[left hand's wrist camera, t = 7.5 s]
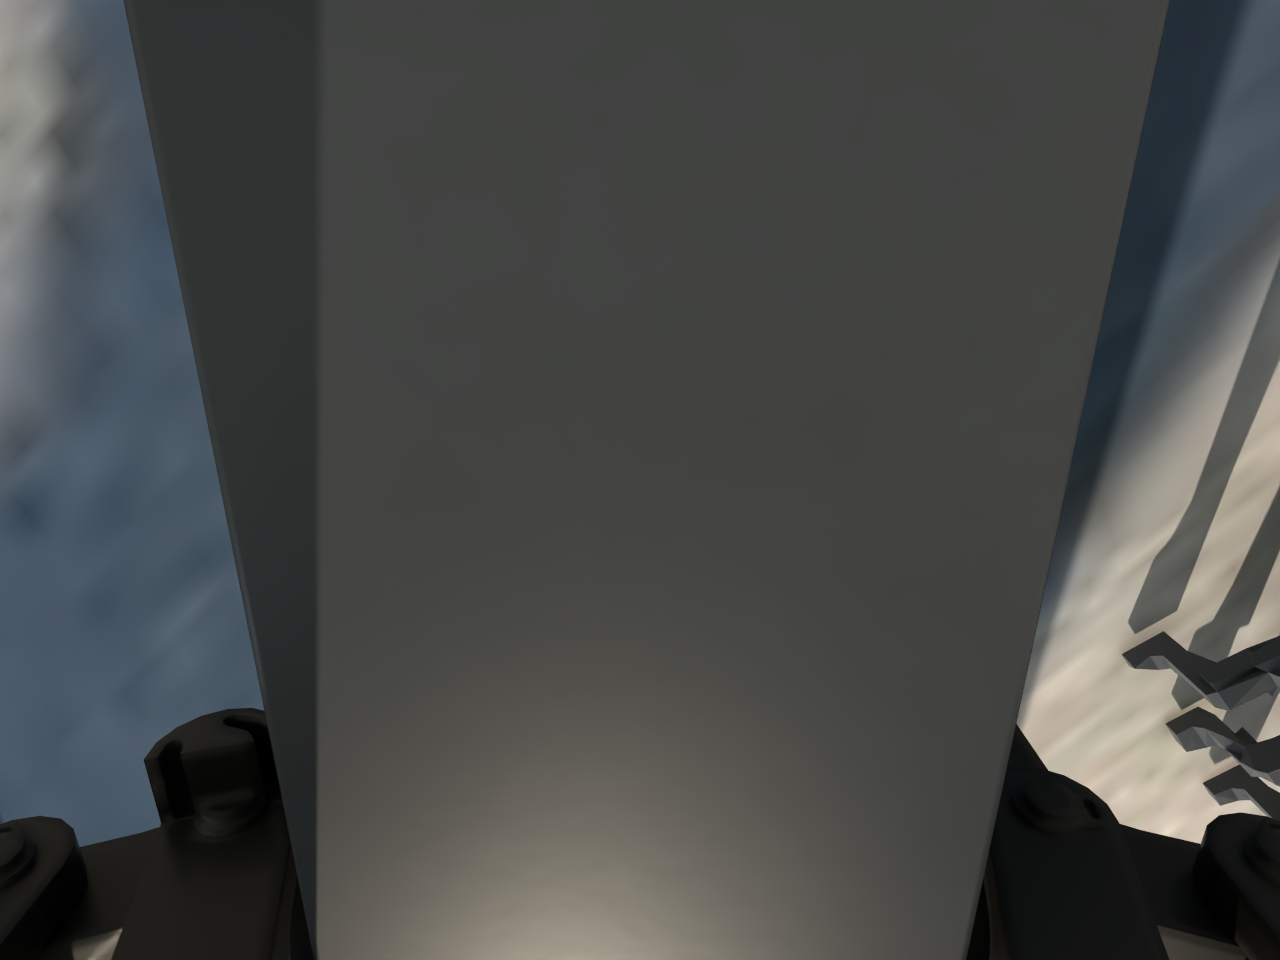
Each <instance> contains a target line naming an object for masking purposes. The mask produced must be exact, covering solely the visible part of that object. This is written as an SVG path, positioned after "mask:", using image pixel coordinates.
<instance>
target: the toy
mask: <svg viewBox="0 0 1280 960" xmlns="http://www.w3.org/2000/svg"><path fill="white" fill-rule="evenodd" d="M1122 655H1123V657H1124V658H1125V660H1126V662H1127V663H1128V665H1129V666H1130V667H1132V668H1135V669H1155V670H1160V669H1168V668H1171V669H1172V670H1173V671H1174V672H1176V673H1177V674H1178V675H1179V676H1180V677H1181V678H1182V679H1184V680H1185V681H1186V682H1187V683H1188V684H1189V685H1191V686H1192V687H1193V688H1194V689H1195V690H1196V691H1197V692H1199V693H1200V694H1201V695H1202V696H1203V697H1204V698H1205V699H1207V700H1208V701H1209V702H1210V703H1211V704H1212V705H1213V706H1215V707H1216V708H1220V709H1225V710H1228V709H1229V710H1230V709H1233V708H1235V707H1237V706H1239V705H1241V704H1243V703H1245V702H1247V701H1249V700H1251V699H1254V698H1256V697H1258V696H1260V695H1262V694H1264V693H1266V692H1268V693H1269V694H1271V695H1272V696H1274V695H1276V694H1278V693H1279V692H1280V636H1278V637H1276V638H1273V639H1270V640H1268V641H1265V642H1262V643H1260V644H1257V645H1254V646H1252V647H1249V648H1246V649H1244V650H1242V651H1240V652H1238V653H1236V654H1234V655H1232V656H1230V657H1228V658H1226V659H1224V660H1222V661H1220V662H1218V663H1216V662H1213V661H1211V660H1208V659H1206V658H1203V657H1201V656H1198V655H1196V654H1193V653H1191V652H1188V651H1186V650H1185V649H1184V648H1183V647H1182V646H1180V645H1179V644H1178V643H1177V642H1176V641H1174V640H1173V639H1172V638H1171V637H1170V636H1169V635H1167V634H1166V633H1165V632H1164V631H1163V632H1161V633H1160V634H1158V635H1156V636H1154V637H1152V638H1151V639H1149V640H1147V641H1145V642H1143V643H1141V644H1140V645H1138V646H1136V647H1134V648H1132V649H1131V650H1129V651H1127V652H1125V653H1123V654H1122ZM1166 725H1167V727H1168V729H1169V730H1170V732H1171V733H1172V735H1173V736H1174V738H1175V740H1176V741H1177V742H1178V743H1179V744H1180V745H1181V746H1182V747H1183V748H1184V749H1185V750H1186V752H1188V751H1193V750H1197V749H1202V748H1206V747H1210V746H1215V745H1218V746H1220V747H1222V748H1224V749H1226V750H1227V751H1228V752H1229V753H1230V754H1231V755H1232V756H1233V758H1234V759H1235V760H1236V761H1237V762H1238V763H1239V764H1240V765H1238V766H1236V767H1234V768H1232V769H1230V770H1228V771H1226V772H1224V773H1222V774H1220V775H1218V776H1216V777H1214V778H1212V779H1210V780H1208V781H1206V782H1204V783H1203V784H1204V786H1205V787H1206V789H1207V791H1208V792H1209V794H1210V795H1211V796H1212V797H1213V798H1214V799H1215V800H1216V801H1217V802H1218V804H1219V805H1220V806H1221V805H1224V804H1228V803H1231V802H1235V801H1238V800H1251V801H1252V802H1253V803H1254V804H1255V805H1256V806H1257V807H1258V808H1259V809H1260V810H1261V811H1262V812H1263V813H1264V814H1266V815H1267V816H1268V817H1270V818H1273V819H1276V820H1279V821H1280V793H1279V792H1277V791H1275V790H1274V789H1272V788H1270V787H1268V786H1267V785H1266V784H1265V783H1264V782H1263V781H1262V780H1260V779H1259V778H1258V777H1262V778H1264V779H1266V780H1268V781H1270V782H1272V783H1274V784H1276V785H1278V786H1280V735H1279V736H1277V737H1274V738H1272V739H1268V740H1265V741H1262V742H1258V743H1257V742H1256V741H1255V740H1254V739H1253V737H1252V736H1251V735H1250V734H1249V733H1248V732H1247V731H1246V730H1245V729H1244V728H1243V727H1242V728H1241V729H1240V730H1239V731H1238V732H1237V733H1236V734H1235V733H1234V732H1233V731H1232V730H1231V729H1230V728H1229V727H1227V726H1226V725H1225V724H1224V723H1223V722H1222V721H1221V720H1220V719H1219V718H1218V717H1217V716H1216V715H1214V714H1212V713H1210V712H1208V711H1206V710H1204V709H1201V708H1199V707H1197V708H1195V709H1193V710H1191V711H1189V712H1187V713H1185V714H1183V715H1181V716H1179V717H1177V718H1176V719H1174V720H1172V721H1170V722H1168V723H1166Z"/></svg>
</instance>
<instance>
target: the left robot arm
mask: <svg viewBox="0 0 1280 960" xmlns="http://www.w3.org/2000/svg"><path fill="white" fill-rule="evenodd" d="M144 763H145V766H146V770H147V774H148V777H149V781H150V784H151V788H152V792H153V795H154V799H155V802H156V806H157V809H158V813H159V817H160V820H161V826H160V827H159V828H155V829H152V830H149V831H146V832H142V833H139V834H135V835H130V836H126V837H122V838H117V839H113V840H109V841H105V842H100V843H96V844H92V845H87V846H83V847H79V844H78V841H77V838H76V835H75V832H74V829H73V828H72V827H71V826H69V825H68V824H67V823H66V822H64V821H63V820H62V819H59V818H51V817H44V816H36V817H29V818H23V819H16V820H11V821H8V822H6V823H3V824H0V960H314V957H313V952H312V947H311V942H310V937H309V931H308V926H307V921H306V916H305V911H304V906H303V901H302V896H301V891H300V886H299V881H298V876H297V871H296V866H295V861H294V856H293V851H292V846H291V841H290V836H289V831H288V826H287V821H286V816H285V811H284V806H283V801H282V796H281V790H280V785H279V780H278V775H277V770H276V765H275V760H274V755H273V750H272V745H271V740H270V735H269V730H268V725H267V720H266V715H265V711H262V710H258V709H254V708H241V709H227V710H223V711H219V712H215V713H211V714H207V715H203V716H200V717H198V718H196V719H194V720H192V721H190V722H187V723H185V724H183V725H181V726H179V727H177V728H175V729H174V730H173V731H171V732H170V733H169V734H167V735H166V736H165V737H163V738H162V739H161V740H159V741H158V742H157V743H156V744H155V745H154V746H153V748H152V749H151V751H150V752H149V753H148V755H147V756H146V757H145V759H144ZM966 960H1280V821H1279V820H1276V819H1273V818H1270V817H1267V816H1260V815H1253V814H1247V813H1234V814H1226V815H1219V816H1218V817H1217V818H1216V819H1214V820H1213V821H1212V822H1211V823H1209V824H1208V825H1207V827H1206V830H1205V833H1204V836H1203V839H1202V842H1201V844H1198V843H1194V842H1189V841H1185V840H1181V839H1176V838H1172V837H1168V836H1164V835H1159V834H1155V833H1151V832H1146V831H1142V830H1138V829H1135V828H1132V827H1128V826H1125V825H1122V824H1119V822H1118V820H1117V819H1116V817H1115V816H1114V814H1113V813H1112V811H1111V809H1110V808H1109V806H1108V805H1107V804H1106V803H1105V802H1104V801H1103V800H1102V799H1100V798H1099V797H1098V796H1097V795H1096V794H1094V793H1093V792H1092V791H1091V790H1090V789H1089V788H1087V787H1085V786H1083V785H1081V784H1079V783H1077V782H1076V781H1074V780H1072V779H1070V778H1068V777H1066V776H1064V775H1061V774H1057V773H1054V772H1050V771H1048V769H1047V768H1046V767H1045V765H1044V764H1043V762H1042V761H1041V759H1040V758H1039V756H1038V755H1037V753H1036V752H1035V751H1034V749H1033V748H1032V746H1031V745H1030V743H1029V742H1028V740H1027V739H1026V737H1025V736H1024V734H1023V733H1022V732H1021V730H1020V729H1019V727H1018V726H1017V724H1016V727H1015V731H1014V736H1013V741H1012V745H1011V750H1010V755H1009V759H1008V764H1007V769H1006V774H1005V778H1004V783H1003V788H1002V792H1001V797H1000V802H999V807H998V811H997V816H996V821H995V825H994V830H993V835H992V840H991V844H990V849H989V854H988V858H987V863H986V868H985V873H984V877H983V882H982V887H981V891H980V896H979V901H978V906H977V910H976V915H975V920H974V924H973V929H972V934H971V939H970V943H969V948H968V953H967V957H966Z"/></svg>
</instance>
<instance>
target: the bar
mask: <svg viewBox="0 0 1280 960" xmlns="http://www.w3.org/2000/svg"><path fill="white" fill-rule="evenodd" d="M1169 1H1170V0H124V5H125V10H126V15H127V20H128V25H129V30H130V35H131V40H132V45H133V50H134V55H135V60H136V65H137V70H138V75H139V80H140V85H141V90H142V95H143V100H144V106H145V111H146V116H147V121H148V126H149V131H150V136H151V141H152V146H153V151H154V156H155V161H156V166H157V171H158V176H159V181H160V186H161V191H162V196H163V201H164V206H165V211H166V216H167V221H168V226H169V231H170V236H171V242H172V247H173V252H174V257H175V262H176V267H177V272H178V277H179V282H180V287H181V292H182V297H183V302H184V307H185V312H186V317H187V322H188V327H189V332H190V337H191V342H192V347H193V352H194V357H195V362H196V367H197V372H198V377H199V383H200V388H201V393H202V398H203V403H204V408H205V413H206V418H207V423H208V428H209V433H210V438H211V443H212V448H213V453H214V458H215V463H216V468H217V473H218V478H219V483H220V488H221V493H222V498H223V503H224V508H225V513H226V519H227V524H228V529H229V534H230V539H231V544H232V549H233V554H234V559H235V564H236V569H237V574H238V579H239V584H240V589H241V594H242V599H243V604H244V609H245V614H246V619H247V624H248V629H249V634H250V639H251V644H252V649H253V654H254V660H255V665H256V670H257V675H258V680H259V685H260V690H261V695H262V700H263V705H264V710H265V715H266V720H267V725H268V730H269V735H270V740H271V745H272V750H273V755H274V760H275V765H276V770H277V775H278V780H279V785H280V790H281V796H282V801H283V806H284V811H285V816H286V821H287V826H288V831H289V836H290V841H291V846H292V851H293V856H294V861H295V866H296V871H297V876H298V881H299V886H300V891H301V896H302V901H303V906H304V911H305V916H306V921H307V926H308V931H309V937H310V942H311V947H312V952H313V957H314V960H966V957H967V953H968V948H969V943H970V939H971V934H972V929H973V924H974V920H975V915H976V910H977V906H978V901H979V896H980V891H981V887H982V882H983V877H984V873H985V868H986V863H987V858H988V854H989V849H990V844H991V840H992V835H993V830H994V825H995V821H996V816H997V811H998V807H999V802H1000V797H1001V792H1002V788H1003V783H1004V778H1005V774H1006V769H1007V764H1008V759H1009V755H1010V750H1011V745H1012V741H1013V736H1014V731H1015V727H1016V722H1017V717H1018V712H1019V708H1020V703H1021V698H1022V694H1023V689H1024V684H1025V679H1026V675H1027V670H1028V665H1029V661H1030V656H1031V651H1032V646H1033V642H1034V637H1035V632H1036V628H1037V623H1038V618H1039V613H1040V609H1041V604H1042V599H1043V595H1044V590H1045V585H1046V580H1047V576H1048V571H1049V566H1050V562H1051V557H1052V552H1053V547H1054V543H1055V538H1056V533H1057V529H1058V524H1059V519H1060V514H1061V510H1062V505H1063V500H1064V496H1065V491H1066V486H1067V482H1068V477H1069V472H1070V467H1071V463H1072V458H1073V453H1074V449H1075V444H1076V439H1077V434H1078V430H1079V425H1080V420H1081V416H1082V411H1083V406H1084V401H1085V397H1086V392H1087V387H1088V383H1089V378H1090V373H1091V368H1092V364H1093V359H1094V354H1095V350H1096V345H1097V340H1098V335H1099V331H1100V326H1101V321H1102V317H1103V312H1104V307H1105V302H1106V298H1107V293H1108V288H1109V284H1110V279H1111V274H1112V269H1113V265H1114V260H1115V255H1116V251H1117V246H1118V241H1119V237H1120V232H1121V227H1122V222H1123V218H1124V213H1125V208H1126V204H1127V199H1128V194H1129V189H1130V185H1131V180H1132V175H1133V171H1134V166H1135V161H1136V156H1137V152H1138V147H1139V142H1140V138H1141V133H1142V128H1143V123H1144V119H1145V114H1146V109H1147V105H1148V100H1149V95H1150V90H1151V86H1152V81H1153V76H1154V72H1155V67H1156V62H1157V57H1158V53H1159V48H1160V43H1161V39H1162V34H1163V29H1164V24H1165V20H1166V15H1167V10H1168V6H1169Z"/></svg>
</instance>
